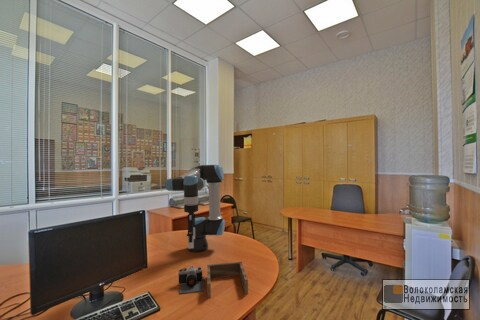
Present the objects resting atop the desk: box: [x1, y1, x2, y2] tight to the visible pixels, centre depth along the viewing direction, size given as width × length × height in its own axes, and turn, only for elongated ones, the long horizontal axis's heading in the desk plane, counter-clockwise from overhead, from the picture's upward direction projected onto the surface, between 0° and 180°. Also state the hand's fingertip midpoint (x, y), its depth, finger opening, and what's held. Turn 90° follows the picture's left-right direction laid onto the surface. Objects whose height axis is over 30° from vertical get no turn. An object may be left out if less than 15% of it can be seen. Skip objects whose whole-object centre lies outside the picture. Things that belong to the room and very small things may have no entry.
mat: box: [179, 275, 205, 295], centre depth 117 cm, size 14×12×1 cm
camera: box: [178, 265, 203, 287], centre depth 117 cm, size 13×8×9 cm, turn 103°
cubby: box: [206, 261, 249, 299], centre depth 116 cm, size 20×20×7 cm
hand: (191, 243), depth 117 cm, fingers open, 13 cm apart
